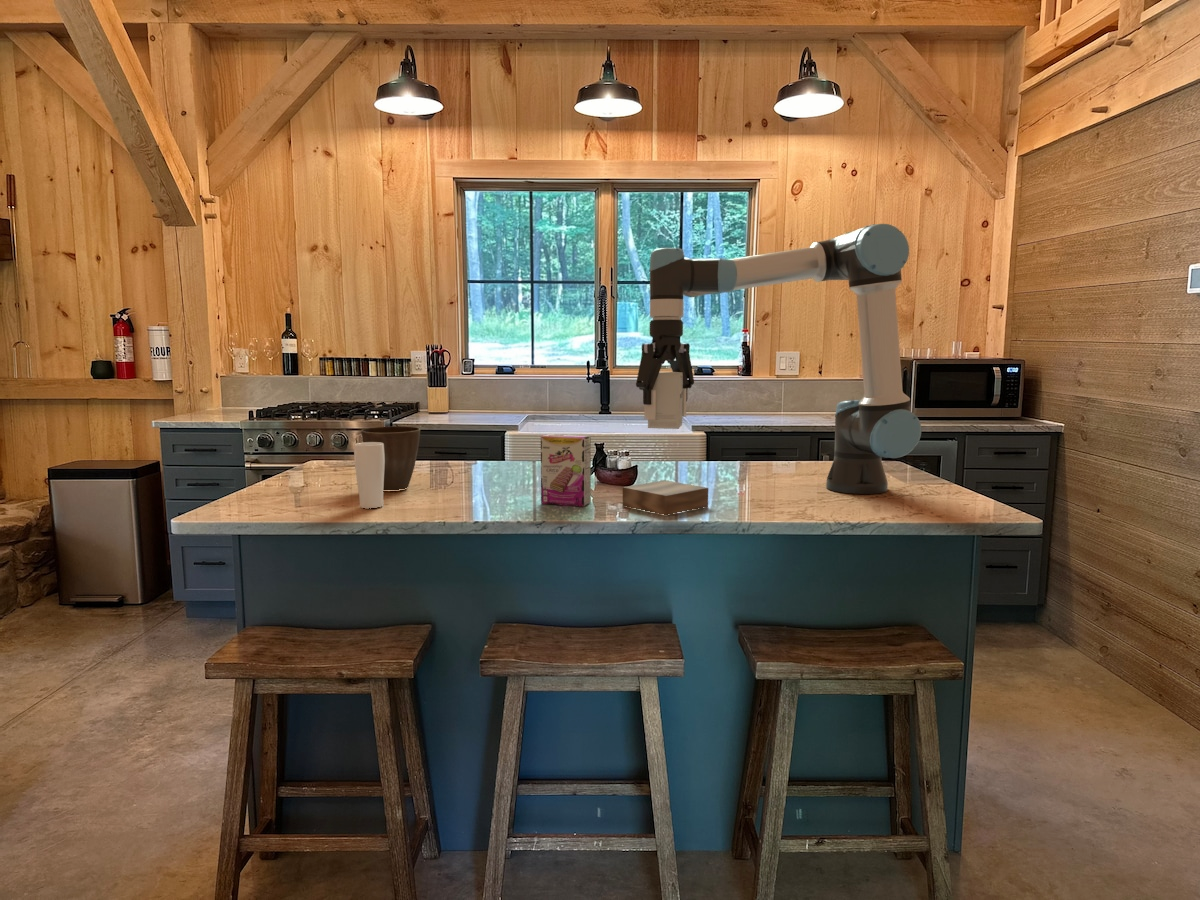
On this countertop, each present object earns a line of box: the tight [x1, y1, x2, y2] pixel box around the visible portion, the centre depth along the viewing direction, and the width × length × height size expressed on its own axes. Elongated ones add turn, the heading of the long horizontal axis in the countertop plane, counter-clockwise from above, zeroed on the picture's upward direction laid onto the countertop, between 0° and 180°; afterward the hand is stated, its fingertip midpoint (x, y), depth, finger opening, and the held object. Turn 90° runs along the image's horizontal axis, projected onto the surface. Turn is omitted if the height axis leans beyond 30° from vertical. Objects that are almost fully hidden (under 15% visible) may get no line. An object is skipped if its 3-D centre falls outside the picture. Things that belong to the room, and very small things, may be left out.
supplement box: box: [647, 371, 683, 430], centre depth 179 cm, size 7×7×13 cm
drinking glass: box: [353, 442, 385, 510], centre depth 182 cm, size 7×7×15 cm
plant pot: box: [360, 425, 421, 490], centre depth 204 cm, size 15×15×16 cm
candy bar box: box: [540, 433, 592, 508], centre depth 185 cm, size 11×5×16 cm, turn 71°
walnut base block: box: [622, 479, 709, 515], centre depth 182 cm, size 14×14×5 cm
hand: (665, 417), depth 179 cm, fingers closed on supplement box, 10 cm apart
